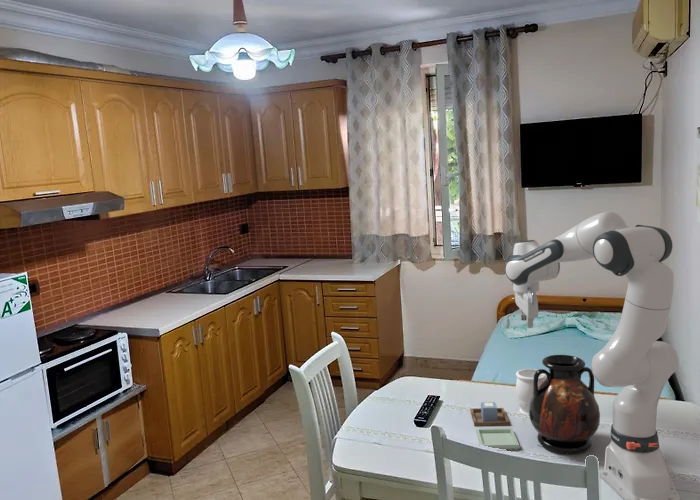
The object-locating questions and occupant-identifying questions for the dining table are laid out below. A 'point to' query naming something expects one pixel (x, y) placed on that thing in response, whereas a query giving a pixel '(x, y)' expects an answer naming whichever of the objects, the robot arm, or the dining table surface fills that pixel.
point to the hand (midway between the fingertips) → (526, 323)
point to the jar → (526, 388)
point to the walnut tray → (479, 421)
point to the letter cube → (489, 411)
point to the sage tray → (498, 438)
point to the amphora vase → (564, 405)
